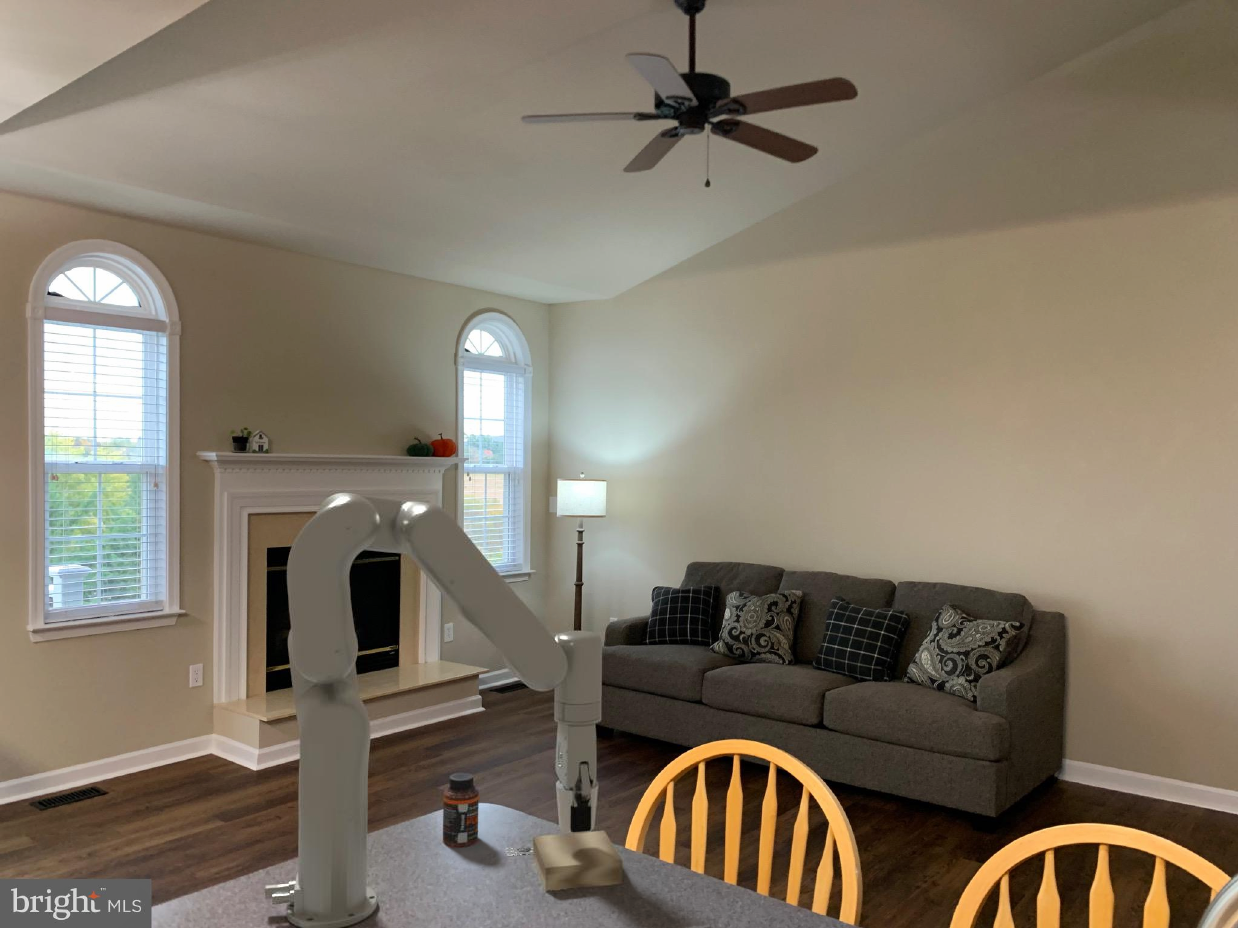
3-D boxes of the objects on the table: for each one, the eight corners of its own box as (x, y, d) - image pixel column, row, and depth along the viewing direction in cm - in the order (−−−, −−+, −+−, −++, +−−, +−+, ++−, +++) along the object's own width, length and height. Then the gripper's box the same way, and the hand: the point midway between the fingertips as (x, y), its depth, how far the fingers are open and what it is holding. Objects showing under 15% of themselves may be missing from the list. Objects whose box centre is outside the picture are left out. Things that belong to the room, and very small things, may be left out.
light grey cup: (593, 836, 146) (593, 791, 146) (550, 832, 148) (550, 788, 148) (602, 820, 153) (603, 777, 153) (561, 816, 154) (562, 773, 154)
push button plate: (507, 857, 155) (507, 855, 155) (504, 847, 159) (504, 845, 159) (543, 854, 156) (543, 852, 156) (539, 844, 160) (539, 842, 160)
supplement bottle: (471, 850, 157) (472, 783, 157) (437, 848, 158) (438, 780, 158) (482, 836, 163) (483, 771, 163) (449, 834, 164) (450, 769, 164)
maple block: (545, 893, 143) (545, 867, 143) (532, 860, 155) (533, 836, 155) (621, 886, 146) (622, 860, 146) (603, 854, 158) (604, 830, 158)
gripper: (545, 697, 158) (544, 806, 158) (565, 726, 141) (563, 847, 141) (589, 695, 159) (588, 802, 160) (613, 723, 143) (612, 842, 143)
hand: (576, 822), depth 150 cm, fingers closed on light grey cup, 5 cm apart
